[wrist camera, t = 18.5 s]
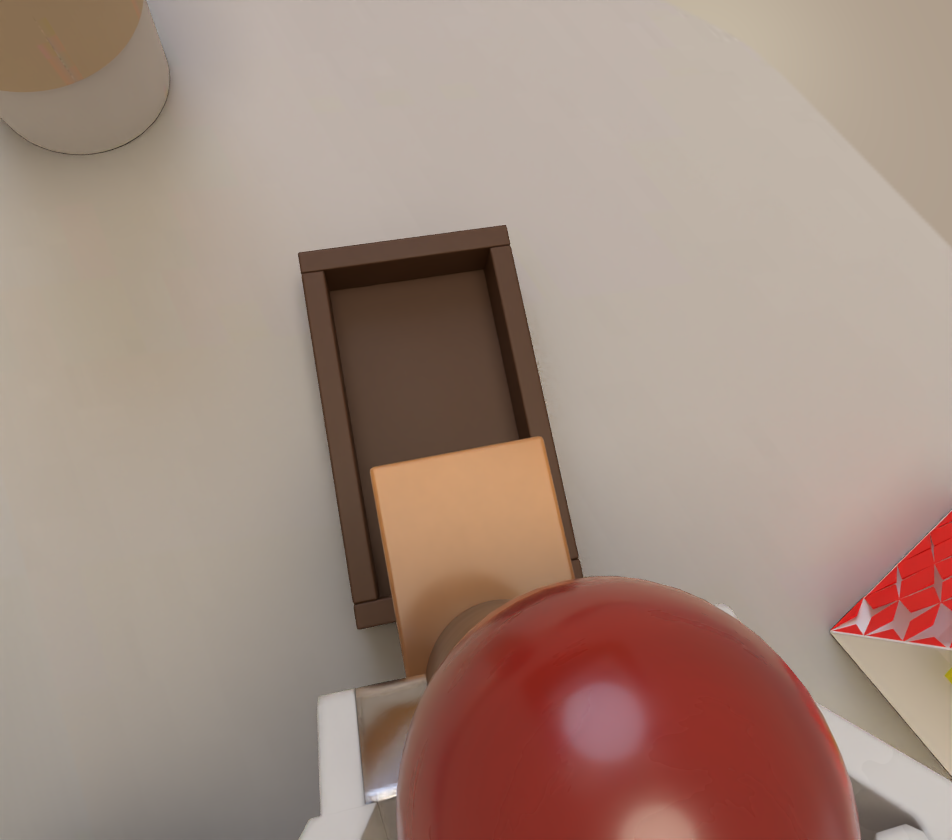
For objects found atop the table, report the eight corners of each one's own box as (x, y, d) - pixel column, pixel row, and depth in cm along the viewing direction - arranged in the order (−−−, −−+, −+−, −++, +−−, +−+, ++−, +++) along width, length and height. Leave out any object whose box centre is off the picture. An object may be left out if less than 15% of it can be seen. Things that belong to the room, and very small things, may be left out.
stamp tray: (567, 581, 26) (584, 582, 23) (361, 624, 25) (357, 630, 22) (497, 253, 28) (506, 224, 26) (306, 280, 27) (297, 252, 25)
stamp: (619, 853, 15) (1246, 1669, 4) (439, 904, 15) (567, 2029, 3) (529, 453, 17) (791, 219, 6) (365, 484, 16) (285, 293, 5)
